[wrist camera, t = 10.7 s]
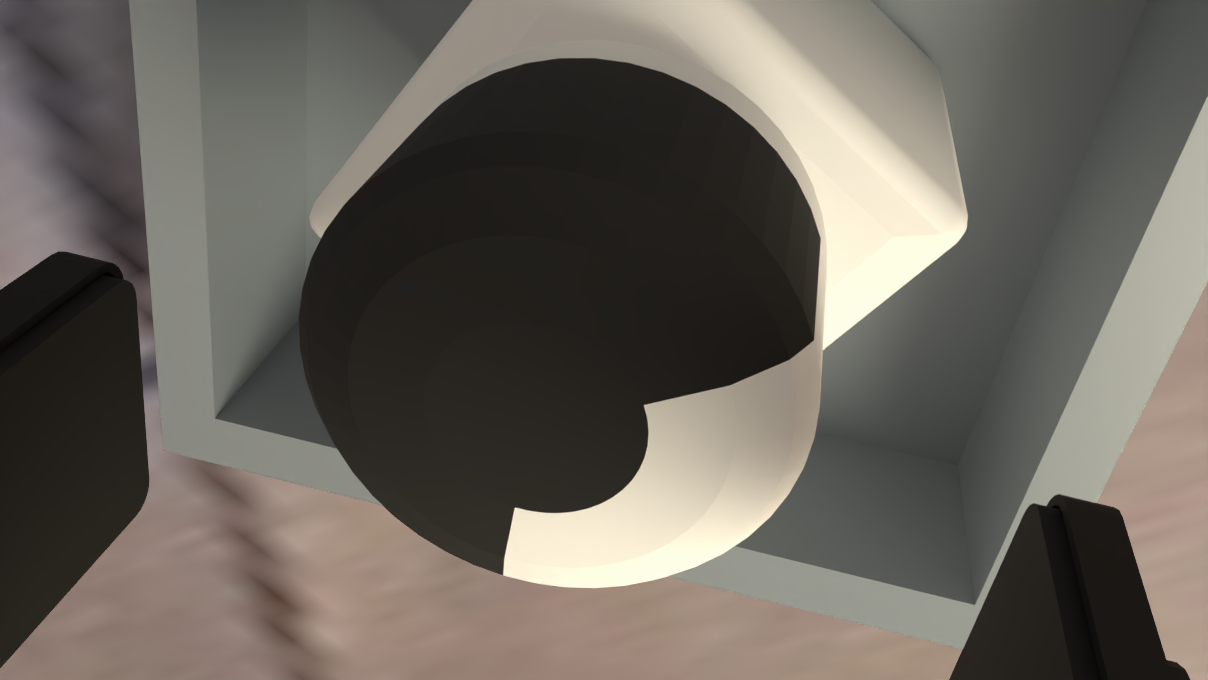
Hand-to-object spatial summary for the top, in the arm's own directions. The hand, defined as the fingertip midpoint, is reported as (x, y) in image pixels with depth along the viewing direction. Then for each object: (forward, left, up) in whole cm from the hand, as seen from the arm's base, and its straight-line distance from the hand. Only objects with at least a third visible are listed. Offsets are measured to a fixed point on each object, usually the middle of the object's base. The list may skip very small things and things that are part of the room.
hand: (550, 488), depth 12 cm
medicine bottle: (0, 0, -13) cm, 13 cm away
